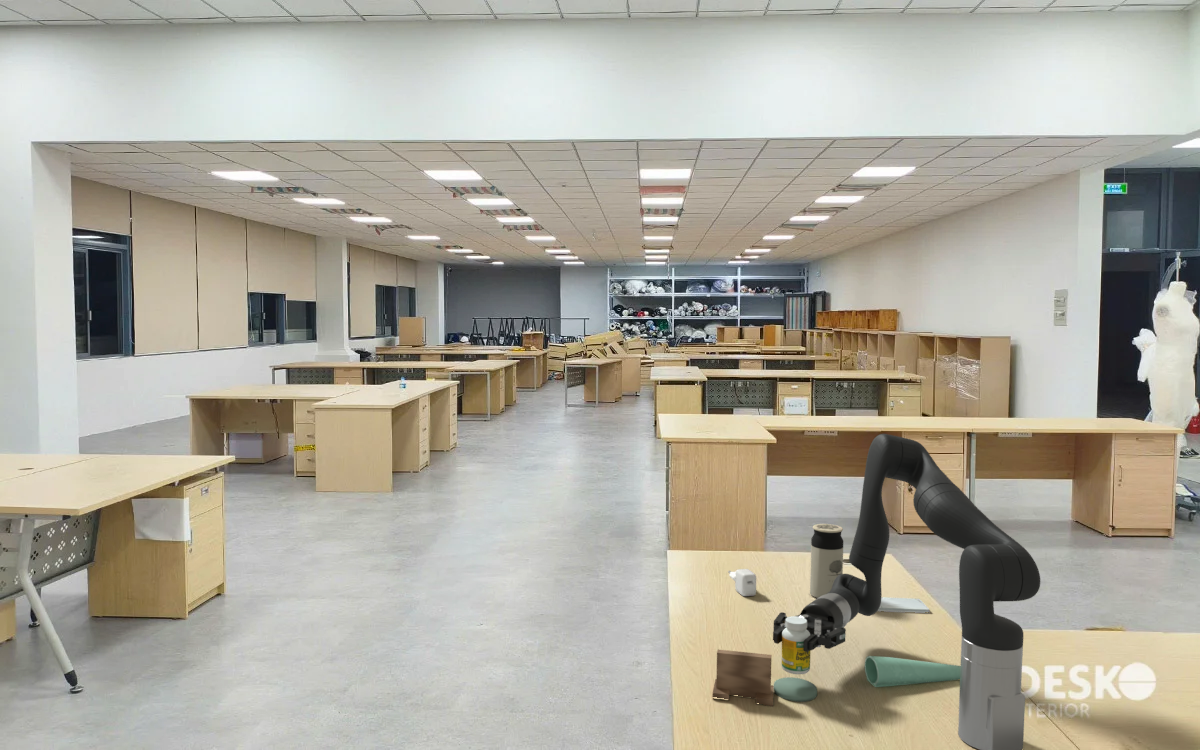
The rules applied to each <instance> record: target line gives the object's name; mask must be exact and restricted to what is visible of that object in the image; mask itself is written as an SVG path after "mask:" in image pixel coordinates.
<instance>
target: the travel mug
mask: <svg viewBox="0 0 1200 750" xmlns="http://www.w3.org/2000/svg"><path fill="white" fill-rule="evenodd" d="M812 529H813V535H812V536H811V541H810V544H811V545H810V576H809V577H810V579H809V595H811V596H812V597H814V598H815V599H817V598H819V597H820V596H823V595H825V594H827V593H828V592H830V590H831V589H832V585H833V582H834V580H835V579H836V577H837V576H838V575H840V574H844V573H843V569H844V539H843V537H842V532H843V527H842V526H840V525H837V524H833V523H832V524H830V523H829V524H828V523H818V524H817V523H816V524H814V525H813V526H812Z"/></svg>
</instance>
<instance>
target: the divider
mask: <svg viewBox="0 0 1200 750" xmlns="http://www.w3.org/2000/svg"><path fill="white" fill-rule="evenodd" d="M771 681H772V654H767V653H766V654H765V653H756V652H747V651H738V650H736V651H735V650H726V649H717V651H716V678H715V680H714V684H713V688H712V696H711V698H712V697H717V698H724V699H729V700H730V696H729V695H738V696H743V697H742V698H745V697H751V698H750V699H754V698H756V699H755V701H756V702H755V703H759V704H764V705H763V706H767V705H768V706H769V707H774V693H775V692H774V684H773V685H772V682H771Z"/></svg>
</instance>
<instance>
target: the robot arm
mask: <svg viewBox="0 0 1200 750" xmlns="http://www.w3.org/2000/svg"><path fill="white" fill-rule="evenodd" d="M867 452H868V453H867V455H866V456H867V457H866V463H865V470H864V478H863V482H862V483H863V485H862V491H861V492H862V493H861V503H860V509H859V510H860V511H859V517H858V522H857V527H856V531H855V535H854V537H853V541H852V545H851V549H850V552H849V555H848V557H849V558H848V561H849V563H850V564H851V565H852V566H853V567H854V568H856V569H857V570H858V571H860V572H861V573H862V574H863V576H864V578H865V579H863V578H859V577H857V576H855V575H852V574H850V573H843V574H840V575H838V576H837V577H836V579H835V580H834V582H833V585H832V589H831V590H830V592H828V593H827V594H825V595H823V596H820V597H819V598H815V600H812V602H810V603H808V604H807V605H805V606H804V607H803V609H802V610H801V612H800V613H799V614H797V615H796V616H798V617H802V618H805V619H806V620H807V630H808V631H809V633H810V636H809V637H808V638H806V639H805V640H804V646H803V650H804V651H805V652H809V651H810V652H811V651H813V650H815V649H816V648H820V647H822V646H824V647H823V648H825V649H826V650H827V649H828V650H829V649H832V648H834V647H836V646H837V647H838V646H839V645H841V644H843V643H845V642H846V637H847V636H846V635H847V634H846V632H847V631H846V626H847V625H848V623H850V621H852V620H853V619H854V618H855V617H857V615H858V614H860V615H862V616H866V617H870V616H874V615H875V614H876V613H877V612H879V611H878V609H879V607H880V604H881V597H882V569H883V565H884V560H885V557H886V553H887V550H888V547H889V542H890V525H889V522H888V518H887V515H886V511H885V508H884V503H883V496H882V495H883V493H882V492H883V485H884V481H885V480H886V479H891V480H896V481H901V482H905V483H907V484H909V485H910V486H911V487H913V488H914V489H915V492H914V494H913V499H912V500H913V507H914V511H915V512H916V514H917V515H918V516H919V518H920V519H921V520H922V522H923V523H924V524H925V526H926V527H927V528H928V529H929V530H930V531H931V532H932V533H933V534H934V535H936V536H937V537H938V538H941V539H942V540H944V541H946V542H948V543H950V544H952V545H953V546H954V545H955V546H956V547H959V548H961V549H962V550H963V551H962V553H961V555H960V559H959V567H958V568H959V569H958V570H959V571H958V574H959V575H958V578H959V579H958V581H959V583H958V584H959V616H960V623H961V641H960V643H961V645H960V646H961V647H960V665H959V666H960V680H959V696H958V697H959V698H958V699H959V700H958V723H957V724H958V726H957V729H958V731H957V732H958V736H959V738H960V740H961V741H963V742H964V743H966V744H967V745H969V746H970V747H973V748H974V749H978V750H1022V749H1023V750H1024V732H1025V712H1026V711H1025V710H1026V709H1025V708H1026V707H1025V706H1026V696H1025V694H1024V693H1022V677H1023V676H1022V675H1023V655H1024V654H1023V653H1024V652H1023V651H1024V630H1023V627H1022V626H1021V625H1019V624H1018V623H1017V622H1016V621H1014V620H1011V619H1009V618H1007V617H1005V616H1002V615H999V614H996V613H995V608H994V602H1021V601H1026V600H1029V599H1032V598H1033V597H1035V596H1036V595H1037V594H1038V592H1039V590H1040V588H1041V575H1040V571H1039V568H1038V565H1037V563H1036V561H1035V559H1034V558H1033V556H1032V555H1031V553H1029V552H1028V550H1027V549H1025V547H1024V546H1023V545H1021V544H1020V543H1019V542H1018V541H1016V540H1015V539H1014V538H1013V537H1012V536H1010V535H1009V534H1007V532H1005V531H1004V530H1002V529H1001V528H1000V527H999V526H997V525H996V524H995V523H994V522H993V521H992V520H990V518H988V517H987V515H986V514H985V513H983V512H982V510H981V509H979V508H978V507H977V506H976V504H974V503H973V501H972V500H971V499H970V498H969V497H968V496H967V495H966V494H965V493H964V492H963V491H962V489H960V487H958V486H957V485H956V484H955V483H954V482H953V481H952V480H951V479H950V478H949V477H948V475H947V474H945V472H943V470H942V469H940V467H939V466H938V464H937V463H936V462H935V460H934V459H933V457H932V455H931V454H930V453H929V452H928V450H927V448H926V447H925V446H924V445H923V444H921V443H920V442H918V441H916V440H914V439H910V438H907V437H903V436H897V435H893V434H887V433H880V434H878V435H877V436H876V437H874V439H872V442H871V444H870V446H869V448H868V451H867ZM787 617H788V616H787V613H786V612H783V611H782V612H779V613H778V615H777V616H776V617H775V619H774V620H773V631H772V641H773V642H774V643H773V644H777V645H778V644H781V643H782V631H783V630H784V629H785V628H787V627H786V625H785V623H786V618H787Z"/></svg>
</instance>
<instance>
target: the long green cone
mask: <svg viewBox="0 0 1200 750" xmlns="http://www.w3.org/2000/svg"><path fill="white" fill-rule="evenodd" d="M960 666H961V665H956V664H948V663H939V662H933V661H932V662H931V661H923V660H916V659H915V660H914V659H907V658H899V657H892V656H890V657H889V656H875V655H868V656H866V657H865V660H864V671H865V676H866V681H867V682H868V683H870V685H872V686H873V687H874V688H880V687H882V688H883V687H895V686H904V685H917V684H927V683H938V682H939V683H940V682H947V681H949V682H950V681H959V680H958V679H960Z"/></svg>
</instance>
